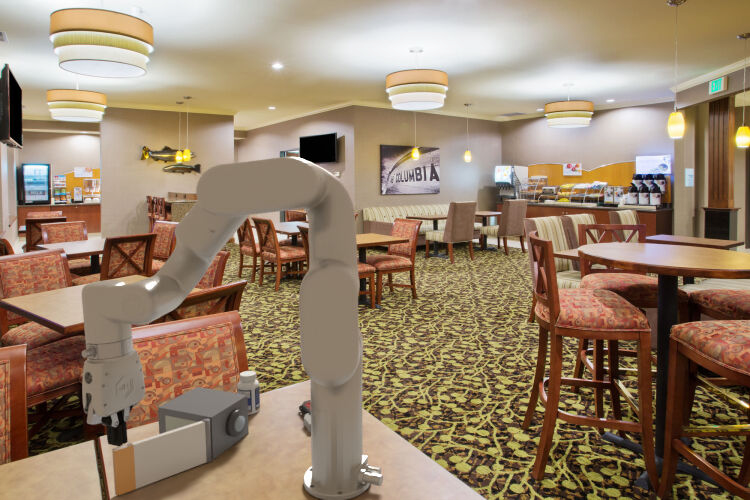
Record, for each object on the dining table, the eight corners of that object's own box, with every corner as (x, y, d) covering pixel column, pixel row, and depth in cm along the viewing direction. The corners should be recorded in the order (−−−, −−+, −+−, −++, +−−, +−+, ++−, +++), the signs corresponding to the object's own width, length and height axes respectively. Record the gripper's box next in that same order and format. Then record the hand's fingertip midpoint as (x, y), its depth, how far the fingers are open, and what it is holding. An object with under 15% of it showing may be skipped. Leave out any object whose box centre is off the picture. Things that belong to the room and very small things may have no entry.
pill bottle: (253, 404, 126) (252, 368, 125) (264, 411, 122) (263, 373, 121) (234, 410, 122) (232, 373, 121) (244, 417, 119) (243, 379, 117)
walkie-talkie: (291, 414, 121) (323, 449, 104) (290, 397, 121) (323, 429, 103) (323, 406, 126) (359, 439, 108) (323, 390, 125) (359, 420, 108)
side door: (209, 458, 100) (208, 417, 99) (212, 460, 99) (211, 420, 98) (114, 493, 88) (111, 448, 87) (117, 497, 87) (114, 451, 86)
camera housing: (254, 434, 110) (253, 396, 109) (219, 461, 99) (218, 418, 98) (198, 423, 116) (197, 386, 115) (159, 447, 104) (157, 407, 103)
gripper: (88, 363, 81) (97, 467, 83) (157, 338, 95) (163, 428, 97) (56, 359, 84) (66, 460, 86) (128, 335, 98) (135, 423, 100)
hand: (117, 443), depth 92 cm, fingers closed
